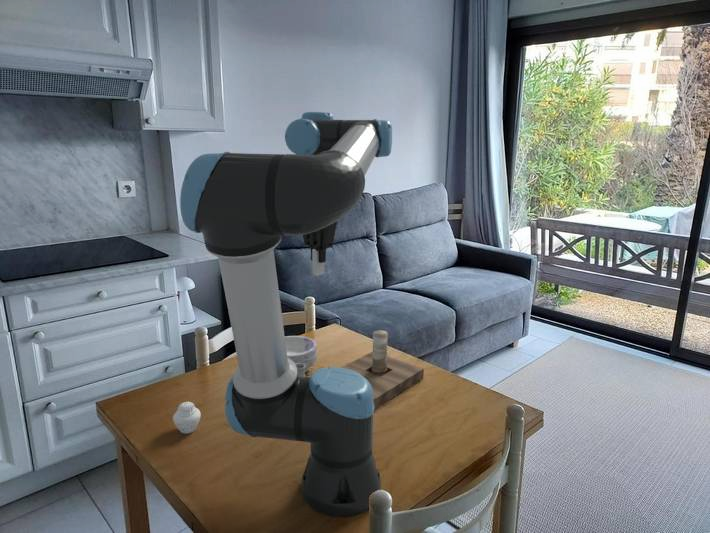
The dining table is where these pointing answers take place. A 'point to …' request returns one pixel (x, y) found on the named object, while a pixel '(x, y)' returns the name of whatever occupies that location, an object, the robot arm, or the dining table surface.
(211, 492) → the dining table surface
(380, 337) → the peg
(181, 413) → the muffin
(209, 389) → the dining table surface
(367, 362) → the board
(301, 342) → the paper bowls
